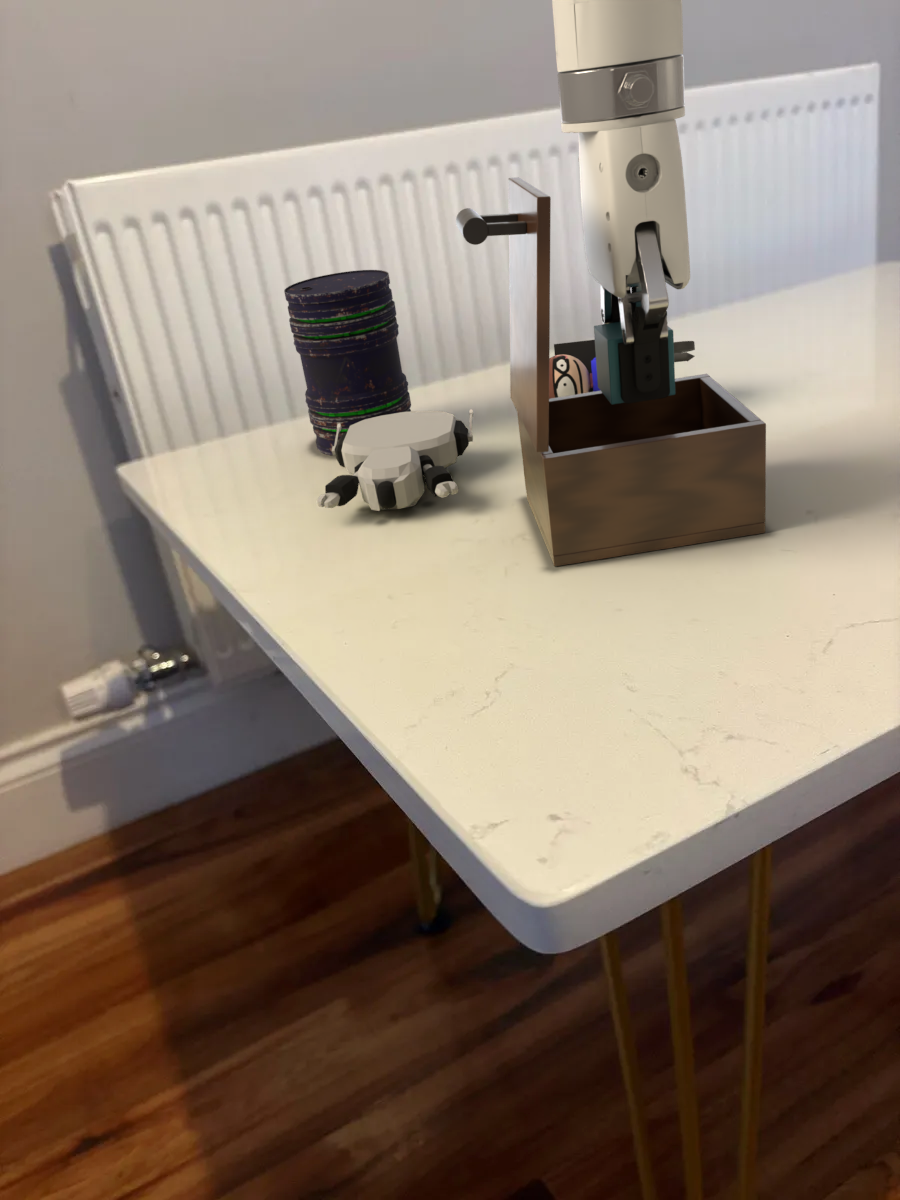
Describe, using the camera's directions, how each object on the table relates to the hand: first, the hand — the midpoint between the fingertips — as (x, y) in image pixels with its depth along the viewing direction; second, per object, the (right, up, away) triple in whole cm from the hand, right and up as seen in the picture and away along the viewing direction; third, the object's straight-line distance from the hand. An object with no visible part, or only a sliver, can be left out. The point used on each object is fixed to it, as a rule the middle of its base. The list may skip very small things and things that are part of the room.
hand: (636, 386), depth 71 cm
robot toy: (-17, -5, +16) cm, 24 cm away
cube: (0, 0, 0) cm, 0 cm away
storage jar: (-21, +1, +29) cm, 36 cm away
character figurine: (+3, +2, +25) cm, 25 cm away
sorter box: (+1, -9, +4) cm, 10 cm away
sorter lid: (-7, +4, -3) cm, 9 cm away
